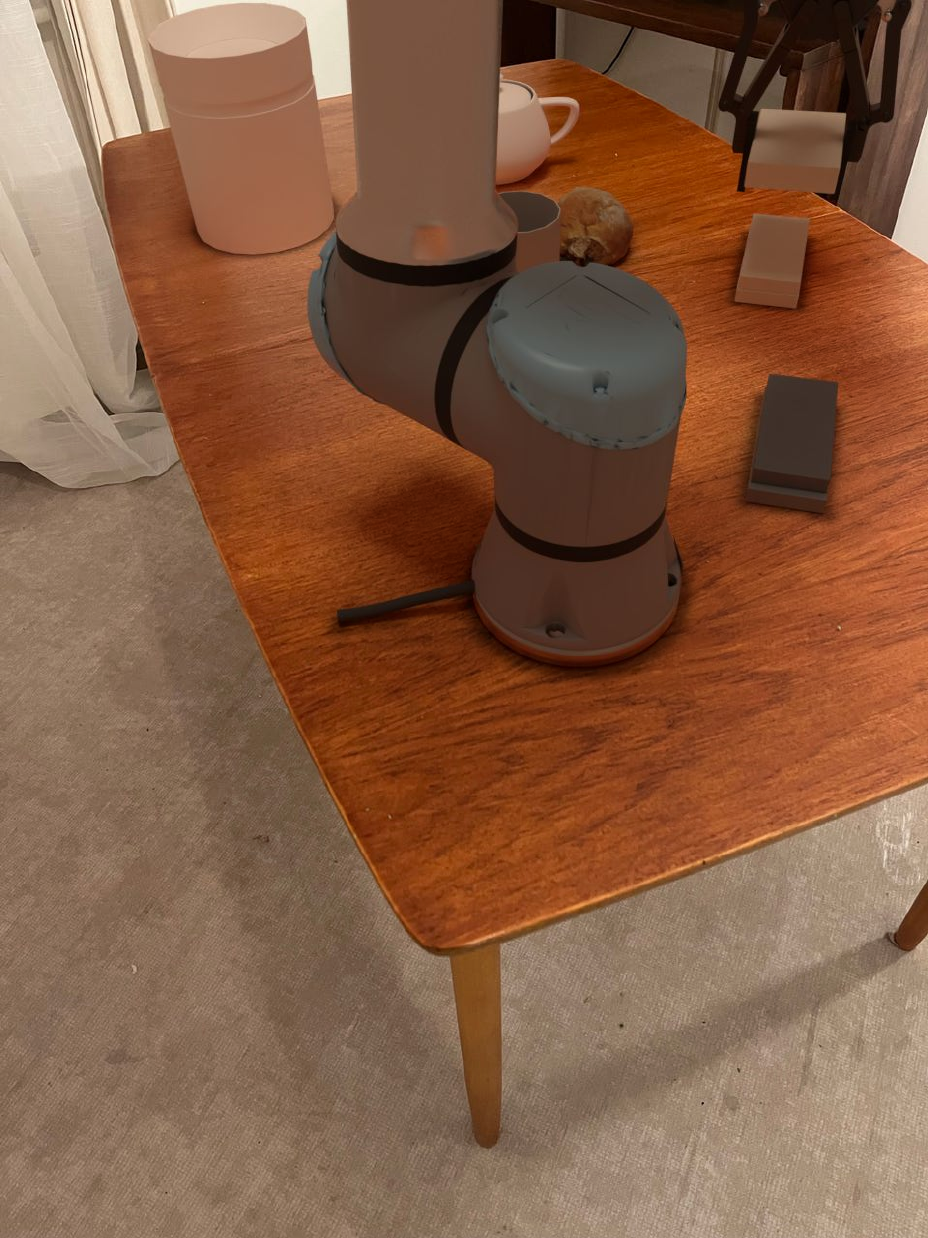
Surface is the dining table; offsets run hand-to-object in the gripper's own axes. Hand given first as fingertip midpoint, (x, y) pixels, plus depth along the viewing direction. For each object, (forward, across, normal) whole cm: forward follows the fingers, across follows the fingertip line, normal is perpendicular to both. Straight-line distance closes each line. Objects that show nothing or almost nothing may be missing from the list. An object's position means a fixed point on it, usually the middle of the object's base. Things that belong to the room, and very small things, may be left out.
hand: (788, 189), depth 96 cm
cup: (+9, +24, +13) cm, 29 cm away
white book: (-3, 0, 0) cm, 3 cm away
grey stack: (+8, -4, +30) cm, 31 cm away
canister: (+9, +57, +1) cm, 58 cm away
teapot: (+9, +35, -17) cm, 40 cm away
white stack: (+8, 0, 0) cm, 8 cm away
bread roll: (+9, +20, 0) cm, 22 cm away
